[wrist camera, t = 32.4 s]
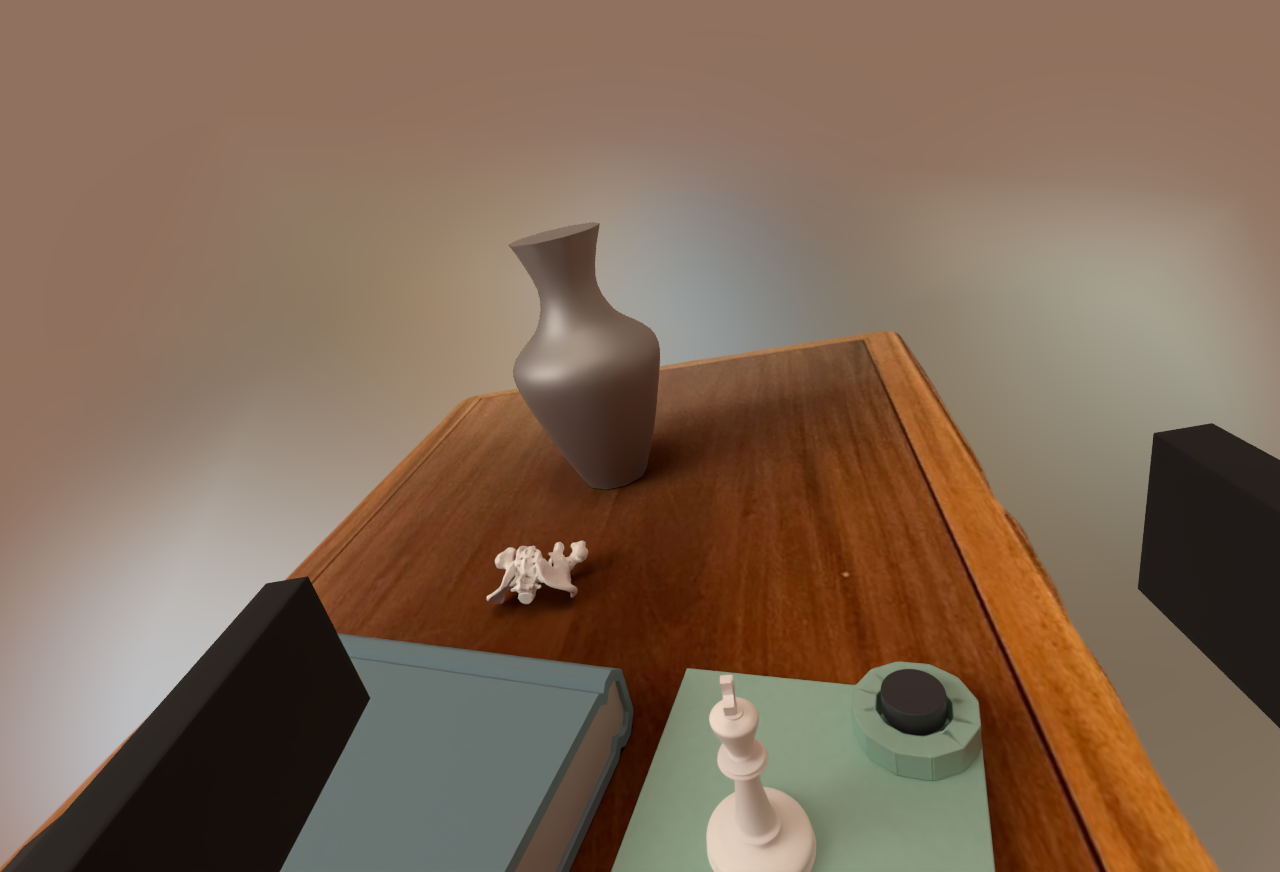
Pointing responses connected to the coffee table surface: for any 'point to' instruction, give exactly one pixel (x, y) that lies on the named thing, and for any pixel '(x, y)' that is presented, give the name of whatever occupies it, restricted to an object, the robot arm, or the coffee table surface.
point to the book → (466, 763)
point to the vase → (587, 362)
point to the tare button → (914, 701)
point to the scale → (823, 777)
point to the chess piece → (752, 801)
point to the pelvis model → (536, 571)
